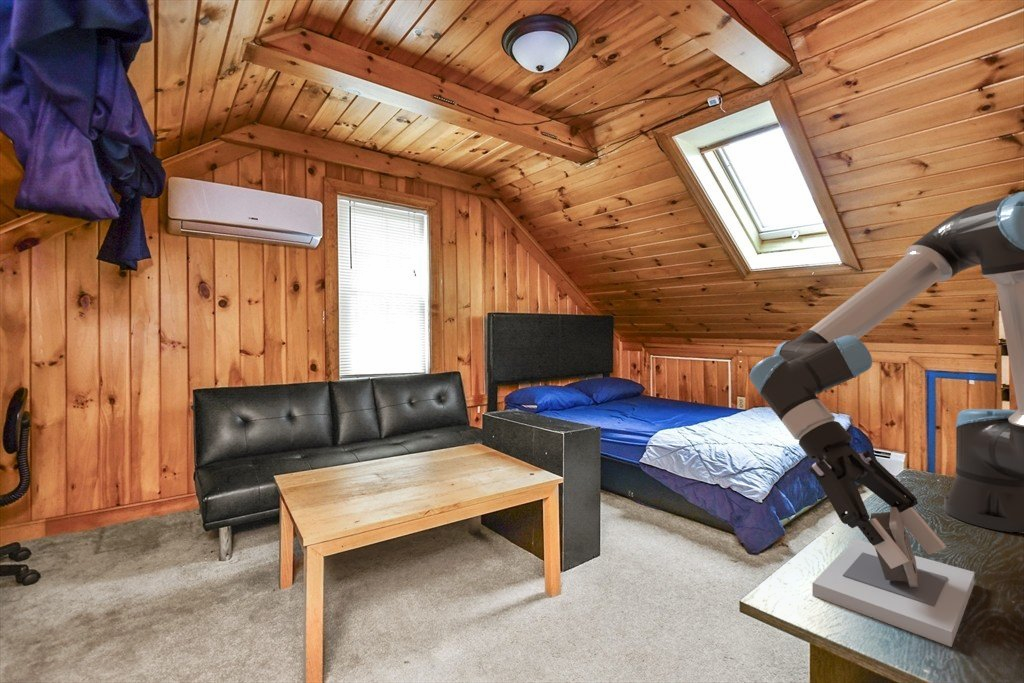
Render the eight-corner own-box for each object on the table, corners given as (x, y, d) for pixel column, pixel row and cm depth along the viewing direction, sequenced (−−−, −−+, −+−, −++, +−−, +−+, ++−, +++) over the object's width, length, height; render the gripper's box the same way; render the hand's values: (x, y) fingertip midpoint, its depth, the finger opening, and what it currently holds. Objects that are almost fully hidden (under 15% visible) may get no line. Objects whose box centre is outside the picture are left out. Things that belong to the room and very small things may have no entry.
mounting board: (854, 549, 89) (854, 537, 89) (974, 584, 77) (974, 570, 77) (812, 595, 75) (812, 581, 75) (951, 647, 63) (951, 630, 63)
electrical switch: (918, 591, 71) (911, 527, 71) (874, 583, 74) (867, 522, 74) (916, 565, 78) (910, 507, 78) (876, 559, 81) (870, 503, 81)
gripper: (840, 435, 93) (938, 552, 80) (760, 449, 85) (855, 583, 71) (870, 413, 88) (980, 533, 75) (788, 425, 80) (896, 564, 66)
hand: (919, 557), depth 73 cm, fingers closed on electrical switch, 9 cm apart
